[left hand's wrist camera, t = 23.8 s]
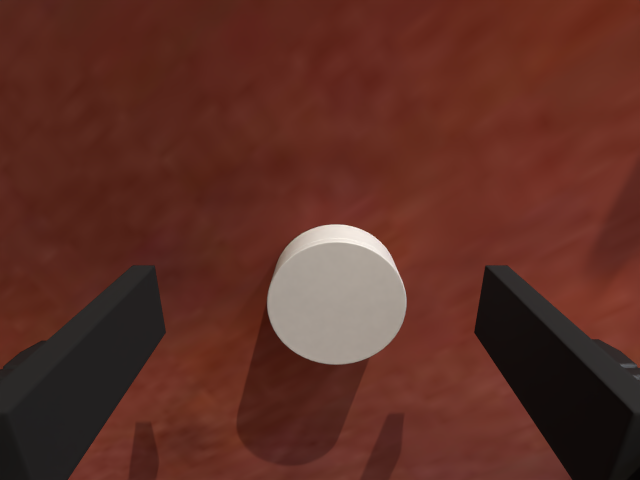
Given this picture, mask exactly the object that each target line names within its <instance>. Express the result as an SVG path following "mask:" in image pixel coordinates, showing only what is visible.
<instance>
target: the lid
mask: <svg viewBox="0 0 640 480" xmlns="http://www.w3.org/2000/svg"><path fill="white" fill-rule="evenodd" d="M267 310H268V316H269V319H270V322H271V325H272V327H273V329H274V331H275V332H276V334H277V336H278V337H279V338H280V339H281V341H282V342H283V343H284V344H285V345H286V346H287V347H288V348H289V349H291V350H292V351H294V352H295V353H297V354H298V355H300V356H302V357H304V358H306V359H309V360H311V361H315V362H318V363H324V364H334V365H338V364H349V363H354V362H358V361H361V360H364V359H366V358H369V357H371V356H373V355H374V354H376V353H378V352H379V351H381V350H382V349H383V348H384V347H386V346H387V345H388V344H389V343H390V342H391V341H392V339H393V338H394V337H395V336H396V334H397V333H398V331H399V329H400V327H401V325H402V323H403V320H404V317H405V312H406V293H405V288H404V285H403V282H402V280H401V277H400V275H399V273H398V270H397V268H396V266H395V263H394V261H393V259H392V257H391V255H390V253H389V252H388V250H387V249H386V248H385V246H384V245H383V244H382V243H381V242H380V241H379V240H378V239H376V238H375V237H374V236H372V235H371V234H369V233H367V232H365V231H363V230H361V229H358V228H355V227H352V226H347V225H325V226H320V227H316V228H313V229H310V230H308V231H306V232H304V233H302V234H301V235H299V236H298V237H296V238H295V239H294V240H293V241H292V242H290V243H289V245H288V246H287V247H286V248H285V249H284V251H283V252H282V254H281V255H280V257H279V260H278V262H277V265H276V268H275V271H274V274H273V277H272V281H271V284H270V287H269V290H268V296H267Z"/></svg>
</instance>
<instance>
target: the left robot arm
mask: <svg viewBox="0 0 640 480" xmlns="http://www.w3.org/2000/svg"><path fill="white" fill-rule="evenodd" d="M165 333H166V331H165V325H164V319H163V313H162V307H161V301H160V295H159V289H158V283H157V277H156V271H155V266H132V267H130V268H129V269H128V270H127V271H126V272H125V273H124V274H123V275H121V276H120V277H119V278H118V279H117V280H116V281H115V282H113V283H112V284H111V285H110V286H109V287H108V288H107V289H105V290H104V291H103V292H102V293H101V294H100V295H99V296H97V297H96V298H95V299H94V300H93V301H92V302H91V303H89V304H88V305H87V306H86V307H85V308H84V309H83V310H82V311H80V312H79V313H78V314H77V315H76V316H75V317H74V318H72V319H71V320H70V321H69V322H68V323H67V324H66V325H64V326H63V327H62V328H61V329H60V330H59V331H58V332H56V333H55V334H54V335H53V336H52V337H51V338H50V339H48V340H47V341H40V342H38V343H37V344H35V345H33V346H31V347H29V348H27V349H26V350H24V351H22V352H20V353H19V354H18V355H17V356H15V357H14V358H13V359H12V360H11V361H9V362H8V363H7V364H6V365H5V366H3V369H0V480H68V478H69V477H70V475H71V474H72V472H73V471H74V469H75V468H76V466H77V465H78V463H79V462H80V460H81V459H82V457H83V456H84V454H85V453H86V451H87V450H88V448H89V447H90V445H91V444H92V442H93V441H94V439H95V438H96V436H97V435H98V433H99V432H100V430H101V429H102V427H103V426H104V424H105V423H106V421H107V420H108V418H109V417H110V415H111V414H112V412H113V411H114V409H115V408H116V406H117V405H118V403H119V402H120V400H121V399H122V397H123V396H124V394H125V393H126V391H127V390H128V388H129V387H130V385H131V384H132V382H133V381H134V379H135V378H136V376H137V375H138V373H139V372H140V370H141V369H142V367H143V366H144V364H145V363H146V361H147V360H148V358H149V357H150V355H151V354H152V352H153V351H154V349H155V348H156V346H157V345H158V343H159V342H160V340H161V339H162V337H163V336H164V334H165ZM474 333H475V334H476V336H477V337H478V339H479V340H480V342H481V343H482V345H483V346H484V348H485V349H486V351H487V352H488V354H489V355H490V357H491V358H492V360H493V361H494V363H495V364H496V366H497V367H498V369H499V370H500V372H501V373H502V375H503V376H504V378H505V379H506V381H507V382H508V384H509V385H510V387H511V388H512V390H513V391H514V393H515V394H516V396H517V397H518V399H519V400H520V402H521V403H522V405H523V406H524V408H525V409H526V411H527V412H528V414H529V415H530V417H531V418H532V420H533V421H534V423H535V424H536V426H537V427H538V429H539V430H540V432H541V433H542V435H543V436H544V438H545V439H546V441H547V442H548V444H549V445H550V447H551V448H552V450H553V451H554V453H555V454H556V456H557V457H558V459H559V460H560V462H561V463H562V465H563V466H564V468H565V469H566V471H567V472H568V474H569V475H570V477H571V478H572V480H640V368H638V367H637V365H636V364H635V363H634V362H633V361H632V360H630V359H629V358H628V357H627V356H626V355H624V354H623V353H622V352H621V351H619V350H617V349H615V348H614V347H612V346H610V345H608V344H606V343H604V342H603V341H601V340H599V339H590V338H589V337H588V336H587V335H586V334H585V333H584V332H582V331H581V330H580V329H579V328H578V327H577V326H576V325H574V324H573V323H572V322H571V321H570V320H569V319H568V318H567V317H565V316H564V315H563V314H562V313H561V312H560V311H559V310H557V309H556V308H555V307H554V306H553V305H552V304H551V303H549V302H548V301H547V300H546V299H545V298H544V297H543V296H541V295H540V294H539V293H538V292H537V291H536V290H535V289H533V288H532V287H531V286H530V285H529V284H528V283H527V282H526V281H524V280H523V279H522V278H521V277H520V276H519V275H518V274H516V273H515V272H514V271H513V270H512V269H511V268H510V267H508V266H485V271H484V277H483V283H482V289H481V295H480V301H479V307H478V313H477V319H476V325H475V331H474Z"/></svg>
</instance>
